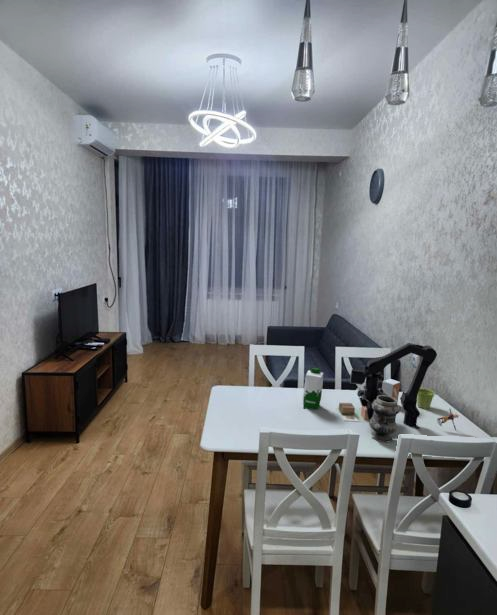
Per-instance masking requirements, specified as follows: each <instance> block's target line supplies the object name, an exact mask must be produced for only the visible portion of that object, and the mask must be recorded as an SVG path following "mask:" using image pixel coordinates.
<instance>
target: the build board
mask: <svg viewBox="0 0 497 615" xmlns="http://www.w3.org/2000/svg"><path fill="white" fill-rule="evenodd" d="M334 408H335V410H336V411H337V413H338V415H339V416H340V418H341V419H342V420H343V422H345V423H346V422H347V423H349V422H351V423H353V422H354V423H369V420H364V419H363V418H362V417H361V409H362V408H356V407H355V412H354V416H350V415H342V414H341V413H340V411H339V407H334Z"/></svg>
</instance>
